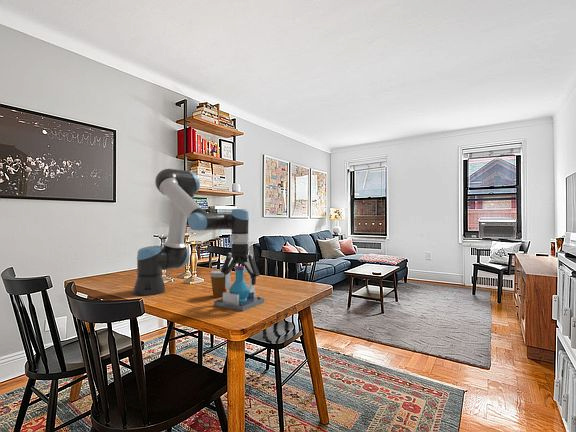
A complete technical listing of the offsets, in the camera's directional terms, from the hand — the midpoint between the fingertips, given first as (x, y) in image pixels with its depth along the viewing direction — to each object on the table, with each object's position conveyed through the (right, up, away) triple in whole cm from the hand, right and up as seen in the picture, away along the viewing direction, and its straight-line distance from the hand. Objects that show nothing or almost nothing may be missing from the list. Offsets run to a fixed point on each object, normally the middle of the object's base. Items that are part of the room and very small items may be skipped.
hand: (239, 290), depth 146 cm
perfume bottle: (0, -4, 0) cm, 4 cm away
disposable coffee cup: (-12, -6, +15) cm, 20 cm away
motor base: (0, -6, 0) cm, 6 cm away
